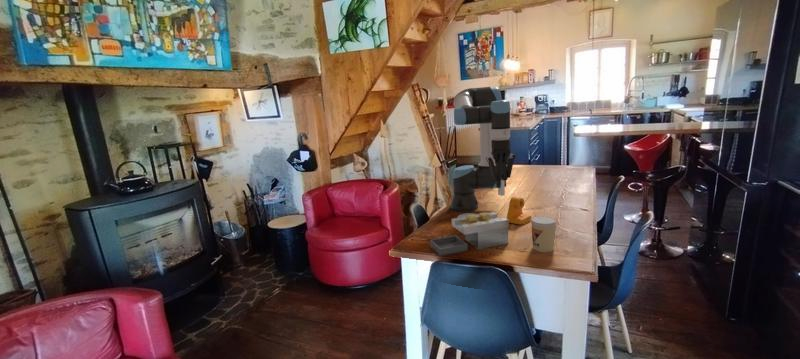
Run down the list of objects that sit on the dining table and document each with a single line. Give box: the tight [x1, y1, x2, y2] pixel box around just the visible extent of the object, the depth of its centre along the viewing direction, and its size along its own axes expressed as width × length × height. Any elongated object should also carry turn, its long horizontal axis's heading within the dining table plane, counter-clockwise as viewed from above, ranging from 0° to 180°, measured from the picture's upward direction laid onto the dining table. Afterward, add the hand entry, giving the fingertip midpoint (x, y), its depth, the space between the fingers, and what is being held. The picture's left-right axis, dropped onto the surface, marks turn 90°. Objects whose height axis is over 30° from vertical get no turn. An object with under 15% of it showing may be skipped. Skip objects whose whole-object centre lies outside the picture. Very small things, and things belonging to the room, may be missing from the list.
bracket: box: [506, 196, 532, 226], centre depth 181 cm, size 11×7×12 cm, turn 132°
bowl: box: [456, 212, 479, 218], centre depth 175 cm, size 11×12×6 cm
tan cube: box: [478, 211, 491, 222], centre depth 158 cm, size 4×4×4 cm
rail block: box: [451, 211, 509, 250], centre depth 159 cm, size 12×20×10 cm, turn 107°
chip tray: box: [429, 234, 469, 257], centre depth 156 cm, size 11×12×3 cm
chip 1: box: [466, 213, 478, 224], centre depth 157 cm, size 4×4×4 cm
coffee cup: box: [530, 215, 557, 253], centre depth 149 cm, size 9×9×12 cm
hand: (501, 194), depth 158 cm, fingers closed
